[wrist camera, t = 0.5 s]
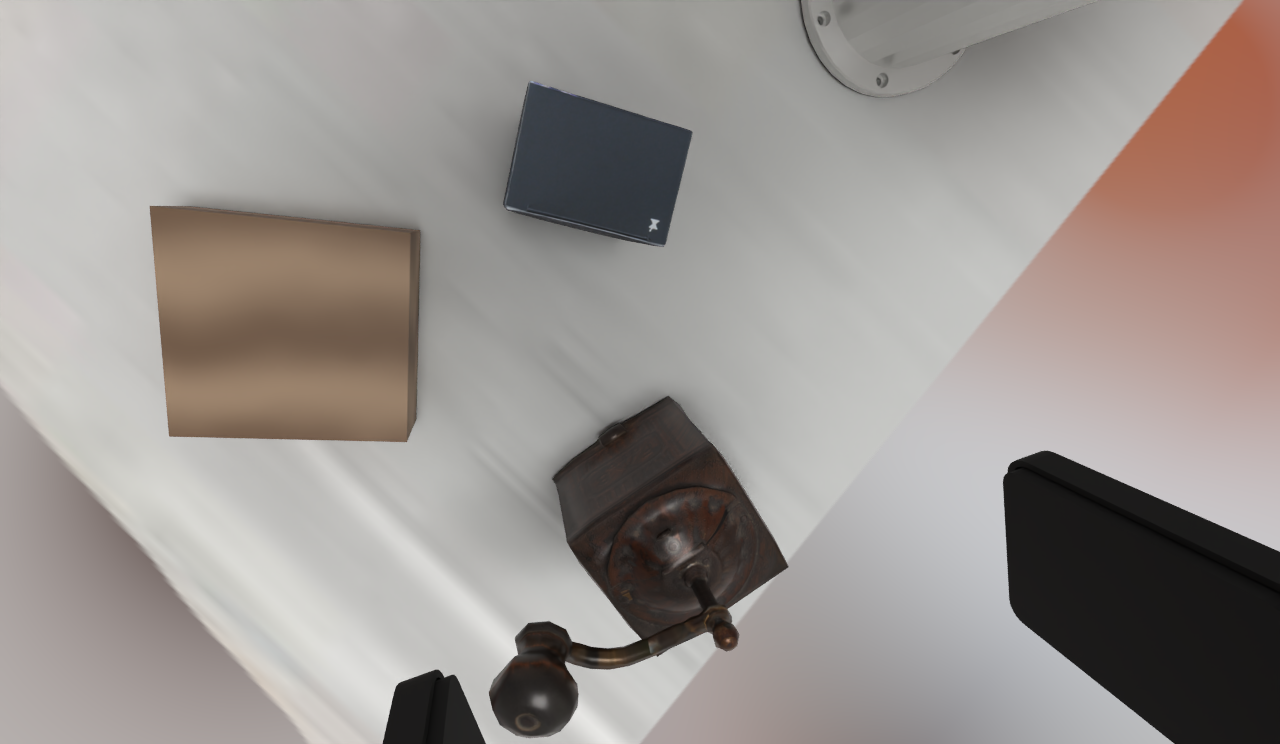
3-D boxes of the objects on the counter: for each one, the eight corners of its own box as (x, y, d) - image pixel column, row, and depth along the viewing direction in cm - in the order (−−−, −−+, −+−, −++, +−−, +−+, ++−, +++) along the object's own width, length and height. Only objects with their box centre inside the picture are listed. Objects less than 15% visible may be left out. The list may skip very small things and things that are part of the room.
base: (190, 206, 33) (149, 206, 29) (420, 230, 36) (410, 232, 32) (204, 412, 36) (169, 436, 32) (416, 419, 38) (406, 441, 35)
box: (645, 151, 37) (697, 130, 27) (624, 240, 38) (666, 251, 28) (520, 113, 35) (527, 76, 25) (502, 209, 36) (501, 210, 26)
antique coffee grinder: (667, 384, 42) (780, 504, 25) (739, 497, 45) (880, 669, 28) (482, 509, 41) (467, 719, 24) (570, 613, 45) (611, 858, 28)
